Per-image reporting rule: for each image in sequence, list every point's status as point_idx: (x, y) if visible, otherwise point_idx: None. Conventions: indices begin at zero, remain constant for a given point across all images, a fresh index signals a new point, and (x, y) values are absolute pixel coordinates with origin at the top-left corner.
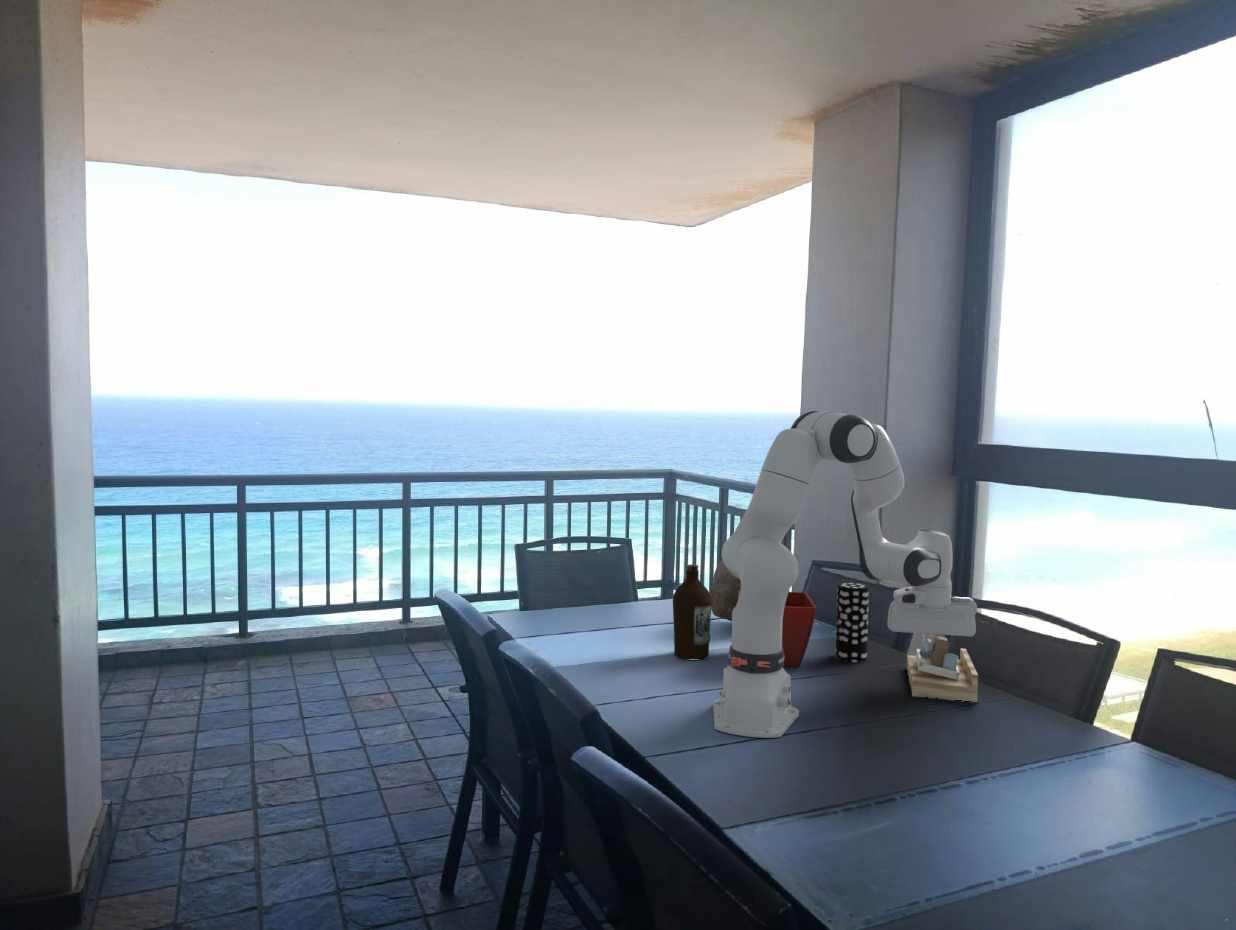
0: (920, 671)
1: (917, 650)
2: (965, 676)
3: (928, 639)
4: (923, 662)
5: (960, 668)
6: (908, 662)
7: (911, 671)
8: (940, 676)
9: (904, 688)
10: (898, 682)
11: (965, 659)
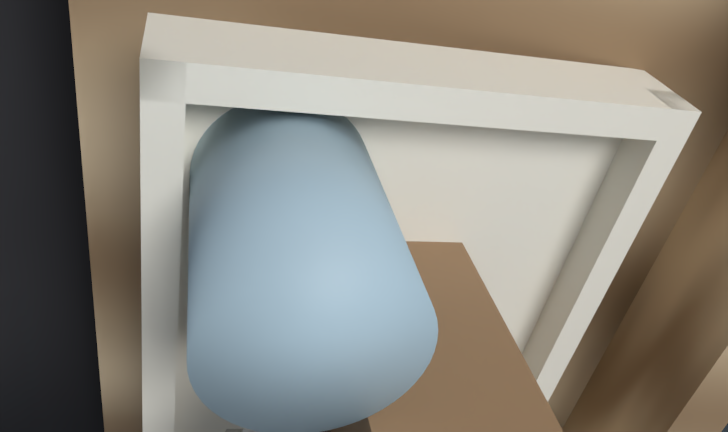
0: None
1: (144, 188)
2: (562, 401)
3: (327, 281)
4: (204, 426)
5: None
6: (76, 37)
7: (107, 364)
8: None
9: (89, 332)
10: (35, 220)
11: (698, 382)
